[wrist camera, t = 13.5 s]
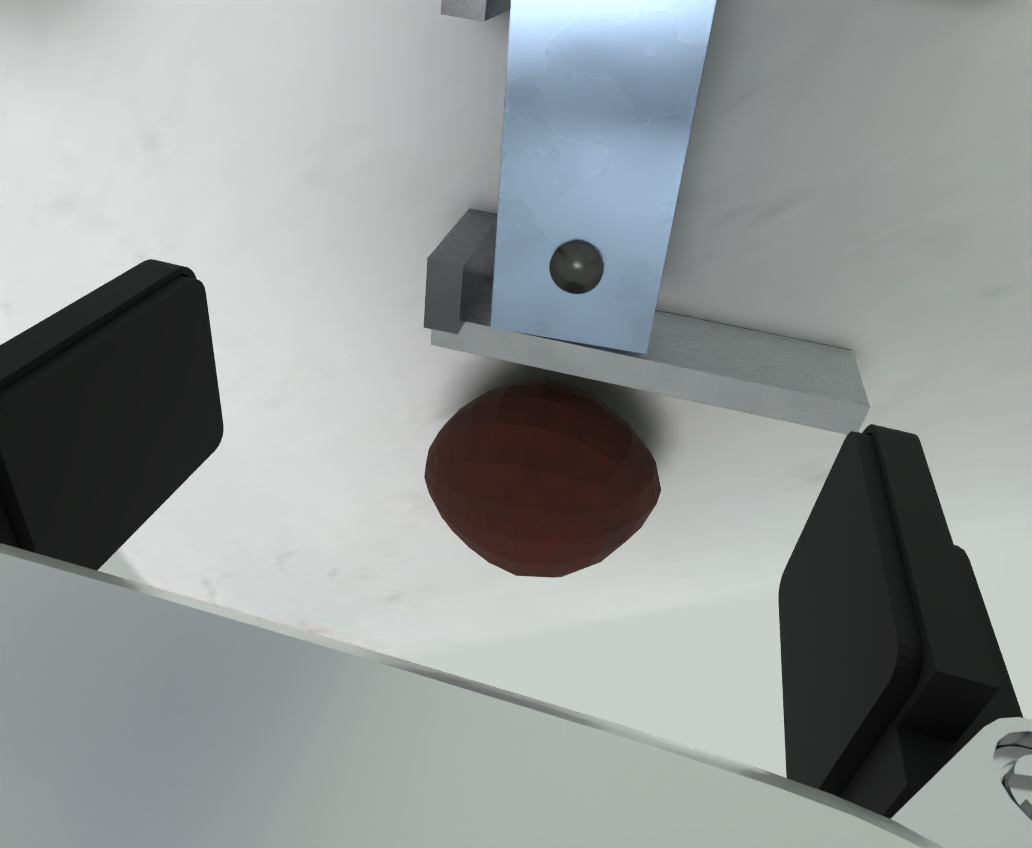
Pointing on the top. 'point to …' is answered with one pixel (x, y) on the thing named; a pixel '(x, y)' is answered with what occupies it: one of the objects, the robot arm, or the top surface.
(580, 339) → the lock block
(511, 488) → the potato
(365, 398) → the top surface
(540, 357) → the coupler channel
